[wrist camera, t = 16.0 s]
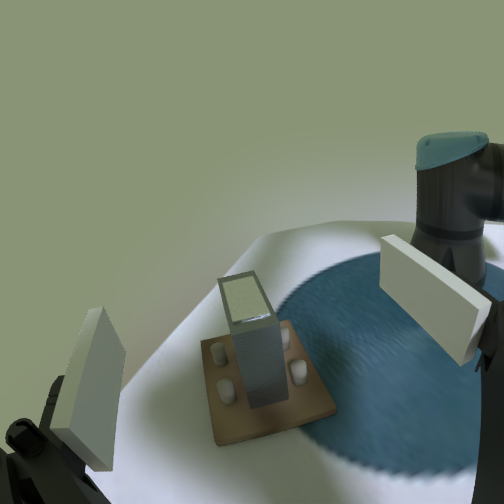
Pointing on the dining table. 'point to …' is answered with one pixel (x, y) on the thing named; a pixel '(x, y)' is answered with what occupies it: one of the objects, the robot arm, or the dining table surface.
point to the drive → (255, 339)
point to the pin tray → (267, 417)
